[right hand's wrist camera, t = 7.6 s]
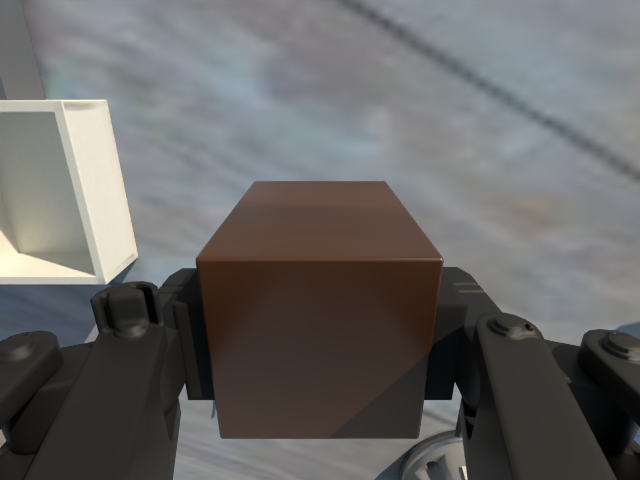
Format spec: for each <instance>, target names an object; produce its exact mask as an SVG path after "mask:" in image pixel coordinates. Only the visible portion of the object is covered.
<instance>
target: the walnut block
mask: <svg viewBox="0 0 640 480" xmlns="http://www.w3.org/2000/svg"><path fill="white" fill-rule="evenodd" d="M443 262H444V260H443V257H442V256H441V255H440V253H439V252H438V251H437V249H436V248H435V247H434V245H433V244H432V243H431V241H430V240H429V239H428V237H427V236H426V235H425V233H424V232H423V231H422V229H421V228H420V227H419V226H418V224H417V223H416V222H415V220H414V219H413V218H412V216H411V215H410V214H409V212H408V211H407V210H406V208H405V207H404V206H403V204H402V203H401V202H400V200H399V199H398V198H397V196H396V195H395V194H394V192H393V191H392V190H391V188H390V187H389V186H388V184H387V183H386V182H384V181H256V182H254V183H253V184H252V186H251V187H250V188H249V190H248V191H247V192H246V193H245V195H244V196H243V197H242V199H241V200H240V201H239V203H238V204H237V205H236V206H235V208H234V209H233V210H232V212H231V213H230V214H229V216H228V217H227V218H226V219H225V221H224V222H223V223H222V225H221V226H220V227H219V229H218V230H217V231H216V233H215V234H214V235H213V236H212V238H211V239H210V240H209V242H208V243H207V244H206V246H205V247H204V248H203V249H202V251H201V252H200V253H199V255H198V256H197V257H196V267H197V274H198V282H199V289H200V296H201V303H202V310H203V317H204V324H205V332H206V339H207V346H208V353H209V360H210V367H211V374H212V381H213V389H214V396H215V403H216V410H217V417H218V424H219V431H220V437H221V438H223V439H417V438H418V437H419V432H420V425H421V418H422V411H423V404H424V397H425V390H426V383H427V375H428V368H429V361H430V354H431V347H432V340H433V333H434V326H435V319H436V312H437V304H438V297H439V290H440V283H441V276H442V269H443Z"/></svg>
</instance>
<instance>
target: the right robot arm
mask: <svg viewBox="0 0 640 480" xmlns="http://www.w3.org/2000/svg"><path fill="white" fill-rule="evenodd" d="M90 301H91V305H92V309H93V312H94V316H95V320H96V324H97V327H98V331H99V334H98V336H97V338H96V340H95V341H94V342H89V343H84V344H79V345H74V346H69V347H63V348H60V346H59V343H58V340H57V337H56V336H55V335H54V334H53V333H51V332H46V331H35V332H25V333H20V334H17V335H13V336H11V337H9V338H7V339H5V340H3V341H0V429H1V430H2V432H3V434H4V436H5V439H6V442H5V443H4V444H3V446H2V447H1V448H0V480H173V473H174V465H175V457H176V449H177V441H178V433H179V425H180V416H181V410H180V404H179V399H178V397H179V394H180V392H181V390H182V388H183V386H184V384H186V390H187V396H188V400H215V396H214V389H213V381H212V374H211V367H210V360H209V353H208V346H207V339H206V332H205V324H204V317H203V310H202V303H201V296H200V289H199V282H198V274H197V268H182V269H181V270H179V271H177V272H176V273H174V274H172V275H170V276H169V277H168V279H167V280H166V281H165V282H164V283H163V285H162V287H160V288H159V289H158V287H157V286H156V285H154V284H153V283H149V282H144V281H138V282H127V283H122V284H118V285H115V286H112V287H109V288H106V289H104V290H103V291H101V292H99V293H97V294H96V295H95V296H94V297H93V298H92V299H91V300H90ZM454 383H456V385H457V387H458V389H459V391H460V393H461V395H462V399H461V404H460V409H459V415H458V420H457V425H456V430H453V431H448V432H444V433H440V434H437V435H435V436H432V437H430V438H428V439H426V440H424V441H423V442H421V443H420V444H418V445H417V446H416V447H414V448H413V449H412V450H411V451H410V452H409V453H408V455H407V456H406V457H405V459H404V460H403V463H402V465H401V468H400V474H399V478H400V480H640V446H639V445H638V444H637V443H636V441H635V440H634V438H635V436H636V433H637V431H638V429H639V427H640V340H639V339H637V338H635V337H633V336H631V335H629V334H626V333H623V332H622V333H620V332H619V331H614V330H603V329H597V330H589V331H588V332H587V333H585V334H584V336H583V339H582V342H581V345H580V346H575V345H570V344H564V343H559V342H554V341H549V340H545V339H544V338H543V336H542V334H541V332H540V331H539V330H538V329H537V327H536V326H535V325H533V324H532V323H530V322H529V321H527V320H525V319H523V318H520V317H518V316H515V315H512V314H508V313H503V312H501V310H500V309H499V308H498V307H497V306H496V304H495V303H494V302H493V301H492V300H491V299H490V297H489V296H488V295H487V294H486V293H484V290H483V289H482V288H481V287H480V286H479V285H478V283H477V282H476V281H475V280H474V279H473V277H472V276H471V275H470V274H468V273H466V272H465V271H463V270H461V269H460V268H458V267H443V269H442V276H441V283H440V290H439V297H438V304H437V312H436V319H435V326H434V333H433V340H432V347H431V354H430V361H429V368H428V375H427V383H426V390H425V397H424V400H452V394H453V388H454Z"/></svg>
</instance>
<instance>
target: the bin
mask: <svg viewBox="0 0 640 480" xmlns="http://www.w3.org/2000/svg"><path fill="white" fill-rule="evenodd" d="M137 257H138V253H137V248H136V243H135V238H134V233H133V228H132V223H131V218H130V213H129V208H128V203H127V198H126V193H125V188H124V183H123V179H122V174H121V169H120V164H119V159H118V154H117V149H116V144H115V139H114V134H113V129H112V124H111V119H110V114H109V109H108V104H107V100H46V96H45V92H44V88H43V84H42V80H41V76H40V72H39V68H38V65H37V61H36V57H35V53H34V49H33V45H32V41H31V38H30V34H29V30H28V26H27V22H26V18H25V14H24V10H23V7H22V3H21V0H0V284H108V283H109V282H110V281H111V280H112V279H113V278H114V277H116V276H117V275H118V274H119V273H120V272H121V271H123V270H124V269H125V268H126V267H127V266H128V265H129V264H131V263H132V262H133V261H134V260H135V259H136V258H137Z"/></svg>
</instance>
